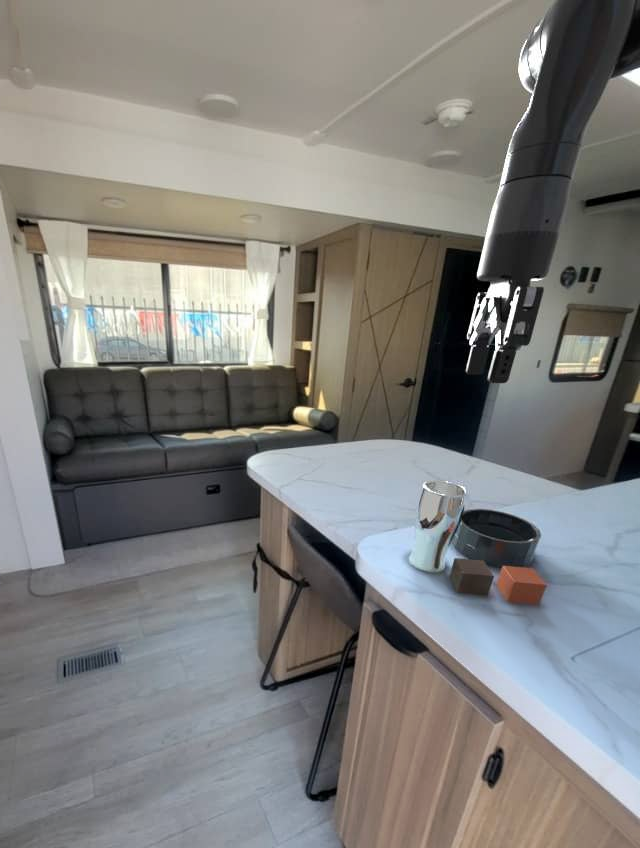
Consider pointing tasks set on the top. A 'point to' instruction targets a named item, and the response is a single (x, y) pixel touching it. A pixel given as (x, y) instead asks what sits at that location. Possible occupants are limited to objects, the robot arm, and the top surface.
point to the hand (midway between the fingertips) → (484, 378)
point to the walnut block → (471, 576)
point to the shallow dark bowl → (496, 538)
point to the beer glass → (436, 523)
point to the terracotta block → (521, 585)
